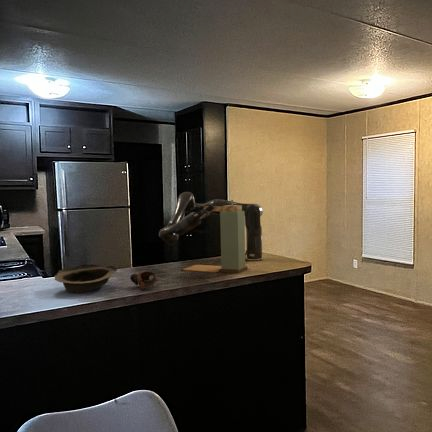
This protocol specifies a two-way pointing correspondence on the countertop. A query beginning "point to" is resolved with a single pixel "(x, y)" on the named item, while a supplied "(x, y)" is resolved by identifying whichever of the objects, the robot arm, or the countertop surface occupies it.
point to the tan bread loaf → (227, 208)
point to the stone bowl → (84, 277)
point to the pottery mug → (143, 279)
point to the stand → (232, 242)
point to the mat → (203, 268)
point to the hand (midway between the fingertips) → (214, 206)
